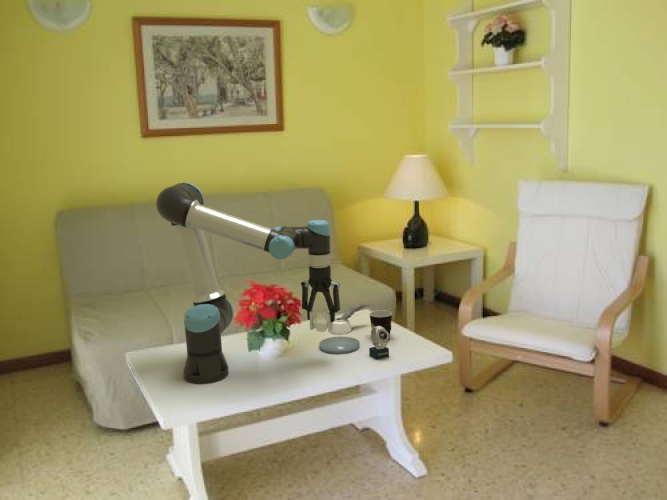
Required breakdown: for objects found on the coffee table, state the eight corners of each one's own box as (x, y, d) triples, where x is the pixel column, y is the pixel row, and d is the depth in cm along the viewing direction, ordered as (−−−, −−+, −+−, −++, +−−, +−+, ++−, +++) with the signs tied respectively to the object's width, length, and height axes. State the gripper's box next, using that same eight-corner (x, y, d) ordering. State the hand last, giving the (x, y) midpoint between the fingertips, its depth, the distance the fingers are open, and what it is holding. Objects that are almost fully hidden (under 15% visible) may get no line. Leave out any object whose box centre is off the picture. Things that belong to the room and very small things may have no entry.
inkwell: (325, 329, 280) (324, 305, 278) (365, 322, 287) (364, 299, 285) (334, 336, 272) (333, 311, 270) (375, 328, 279) (374, 304, 277)
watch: (378, 361, 244) (378, 331, 241) (366, 354, 251) (366, 325, 248) (392, 358, 246) (391, 328, 244) (380, 351, 253) (379, 322, 251)
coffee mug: (369, 335, 271) (369, 310, 269) (392, 334, 271) (391, 310, 269) (370, 345, 260) (369, 319, 258) (393, 344, 260) (393, 319, 257)
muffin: (332, 332, 241) (331, 312, 240) (315, 334, 240) (314, 314, 238) (327, 326, 247) (326, 307, 246) (310, 329, 245) (309, 309, 244)
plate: (329, 356, 250) (329, 353, 249) (313, 344, 263) (313, 340, 263) (366, 349, 256) (366, 345, 255) (349, 337, 269) (348, 334, 269)
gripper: (349, 264, 238) (350, 329, 243) (298, 261, 245) (300, 324, 250) (341, 269, 232) (343, 335, 236) (289, 266, 238) (292, 330, 243)
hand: (321, 329), depth 243 cm, fingers closed on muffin, 6 cm apart
